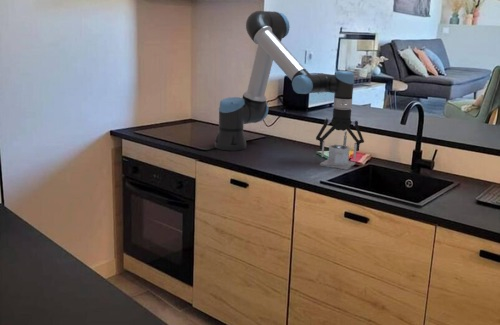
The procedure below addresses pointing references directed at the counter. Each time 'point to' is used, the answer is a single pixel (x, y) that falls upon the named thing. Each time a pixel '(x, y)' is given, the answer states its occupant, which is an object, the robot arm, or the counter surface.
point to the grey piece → (338, 155)
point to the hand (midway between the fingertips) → (338, 157)
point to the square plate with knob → (337, 165)
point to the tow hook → (345, 139)
